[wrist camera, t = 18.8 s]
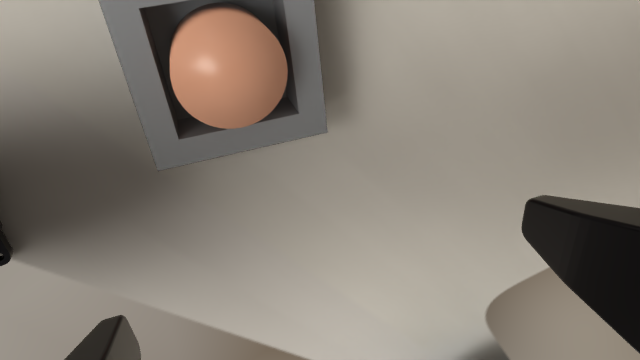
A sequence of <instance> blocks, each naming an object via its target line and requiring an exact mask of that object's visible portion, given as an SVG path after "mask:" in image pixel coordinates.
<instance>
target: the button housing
mask: <svg viewBox="0 0 640 360" xmlns="http://www.w3.org/2000/svg"><path fill="white" fill-rule="evenodd" d="M99 3H100V6H101V9H102V12H103V15H104V18H105V20H106V23H107V26H108V29H109V32H110V35H111V38H112V41H113V43H114V46H115V49H116V52H117V55H118V58H119V61H120V64H121V67H122V69H123V72H124V75H125V78H126V81H127V84H128V87H129V90H130V92H131V95H132V98H133V101H134V104H135V107H136V110H137V113H138V115H139V118H140V121H141V124H142V127H143V130H144V133H145V136H146V139H147V141H148V144H149V147H150V150H151V153H152V156H153V159H154V162H155V164H156V167H157V170H158V171H160V170H165V169H169V168H174V167H178V166H182V165H187V164H191V163H196V162H200V161H204V160H209V159H213V158H218V157H222V156H226V155H231V154H235V153H239V152H244V151H248V150H253V149H257V148H261V147H266V146H270V145H275V144H279V143H283V142H288V141H292V140H297V139H301V138H305V137H310V136H314V135H318V134H323V133H327V132H328V130H327V121H326V111H325V102H324V92H323V82H322V73H321V63H320V54H319V44H318V34H317V25H316V15H315V6H314V0H99ZM210 3H229V4H234V5H237V6H240V7H242V8H244V9H246V10H248V11H249V12H251V13H252V14H254V15H255V16H256V17H257V18H258V19H259V20H260V21H261V22H262V23H263V24H264V25H265V26H266V27H267V28H268V29H269V30H270V31H271V32H272V34H273V35H274V36H275V37H276V38H277V40H278V41H279V43H280V45H281V47H282V49H283V51H284V54H285V57H286V61H287V69H288V75H287V83H286V87H285V91H284V93H283V95H282V98H281V100H280V101H279V103H278V104H277V106H276V107H275V108H274V109H273V110H272V111H271V112H270V113H269V114H268V115H267V116H266V117H264V118H263V119H262V120H260V121H258V122H256V123H254V124H252V125H249V126H246V127H242V128H236V129H225V128H218V127H213V126H210V125H207V124H205V123H203V122H201V121H199V120H198V119H196V118H194V117H193V116H192V115H191V114H190V113H188V112H187V111H186V110H185V108H184V107H183V106H182V105H181V103H180V102H179V101H178V99H177V97H176V95H175V93H174V90H173V87H172V83H171V79H170V58H169V51H170V43H171V38H172V35H173V33H174V31H175V29H176V27H177V25H178V24H179V23H180V21H181V20H182V19H183V18H184V17H185V16H186V15H187V14H188V13H190V12H191V11H193V10H194V9H196V8H198V7H200V6H203V5H206V4H210Z"/></svg>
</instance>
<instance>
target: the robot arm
mask: <svg viewBox="0 0 640 360" xmlns="http://www.w3.org/2000/svg"><path fill="white" fill-rule="evenodd" d="M1 228H2V223H1V221H0V253H2V254H3V256H0V266H2V265H5V264H7V263H8V262H9V261H10V259H11V257H12V255H13V249H12V247H11V245H10V244H9V242H8V240H7V239H6V237H5V235H4V234H3V232H2V231H1ZM522 233H523V235H524V237H525V239H526V240H527V241H528V242H529V243H530V245H531V246H532V247H533V248H534V249H535V250H536V251H537V253H538V254H539V255H540V256H541V257H542V258H543V259H544V261H545V262H546V263H547V264H548V265H549V266H550V267H551V269H552V270H553V271H554V272H555V273H556V274H557V275H558V276H559V278H560V279H561V280H562V281H563V282H564V283H565V284H566V285H567V286H568V287H569V288H570V289H571V290H572V291H573V292H574V293H575V294H577V295H578V296H579V297H580V298H581V299H582V300H583V301H584V302H585V303H586V304H587V305H588V306H589V307H590V308H591V309H592V310H594V311H595V312H596V313H597V314H598V315H599V316H600V317H601V318H602V319H603V320H604V321H605V322H607V324H609V325H610V326H611V327H612V328H613V329H614V330H615V331H616V332H617V333H618V334H619V335H620V336H621V337H622V338H623V339H625V340H626V341H627V342H628V343H629V344H630V345H631V346H632V347H633V348H634V349H635V350H636V351H637V352H639V353H640V208H634V207H627V206H619V205H612V204H605V203H598V202H590V201H583V200H576V199H569V198H562V197H554V196H547V195H542V196H538V197H535V198H531V199H529V200H528V201H527V202H526V205H525V210H524V216H523V221H522ZM64 360H141V353H140V347H139V343H138V341H137V339H136V337H135V335H134V333H133V330H132V328H131V327H130V325H129V322H128V320H127V319H126V317H124V316H123V315H119V316H115V317H112V318H108V319H105V320H103V321H101V322H100V323H99V324H98V325H97V326H96V327H95V328H94V329H93V330H92V331H91V332H90V333H89V334H88V335H87V336H86V337H85V338H84V340H83V341H82V342H81V343H80V344H79V345H78V346H77V347H76V348H75V349H74V350H73V351H72V352H71V353H70V354H69V355H68V356H67V358H65V359H64Z"/></svg>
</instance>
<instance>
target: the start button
mask: <svg viewBox="0 0 640 360" xmlns="http://www.w3.org/2000/svg"><path fill="white" fill-rule="evenodd" d="M169 58H170V79H171V83H172V87H173V90H174V93H175V95H176V97H177V99H178V101H179V102H180V103H181V105H182V106H183V107H184V108H185V110H186V111H187V112H188V113H190V114H191V115H192V116H193V117H194V118H196V119H198V120H199V121H201V122H203V123H205V124H207V125H210V126H213V127H218V128H225V129H236V128H242V127H246V126H249V125H252V124H254V123H256V122H258V121H260V120H262V119H263V118H264V117H266V116H267V115H268V114H269V113H270V112H271V111H272V110H273V109H274V108H275V107H276V106H277V104H278V103H279V101H280V100H281V98H282V95H283V93H284V91H285V87H286V83H287V75H288V69H287V61H286V57H285V54H284V51H283V49H282V47H281V45H280V43H279V41H278V40H277V38H276V37H275V36H274V35H273V34H272V32H271V31H270V30H269V29H268V28H267V27H266V26H265V25H264V24H263V23H262V22H261V21H260V20H259V19H258V18H257V17H256V16H255V15H254V14H252V13H251V12H249V11H248V10H246V9H244V8H242V7H240V6H237V5H234V4H229V3H210V4H206V5H203V6H200V7H198V8H196V9H194V10H193V11H191V12H190V13H188V14H187V15H186V16H185V17H184V18H183V19H182V20H181V21H180V23H179V24H178V25H177V27H176V29H175V31H174V33H173V35H172V38H171V43H170V51H169Z"/></svg>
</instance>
